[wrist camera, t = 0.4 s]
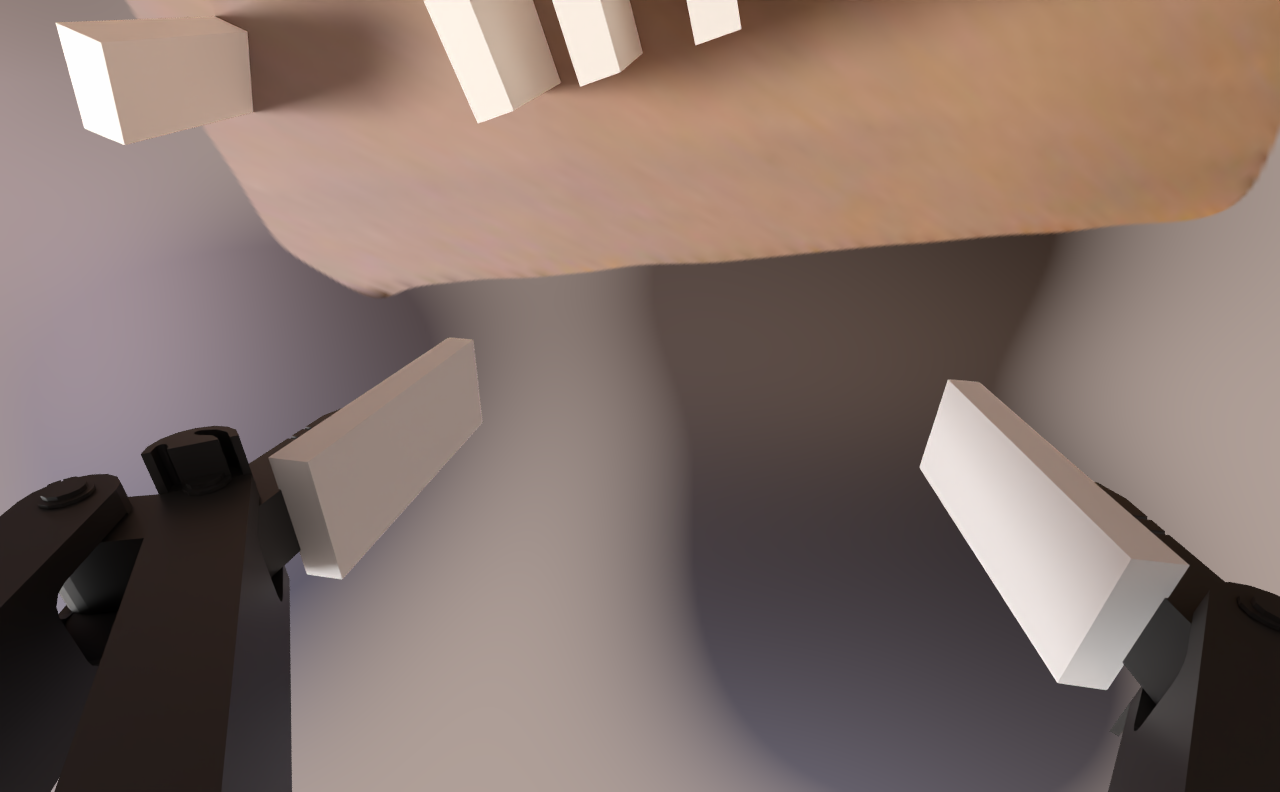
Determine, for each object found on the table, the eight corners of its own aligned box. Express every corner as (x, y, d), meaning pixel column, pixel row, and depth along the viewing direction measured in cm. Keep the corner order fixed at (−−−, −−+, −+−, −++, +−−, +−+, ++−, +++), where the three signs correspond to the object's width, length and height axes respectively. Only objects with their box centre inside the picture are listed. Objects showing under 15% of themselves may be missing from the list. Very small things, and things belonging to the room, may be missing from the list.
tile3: (612, 64, 31) (579, 86, 24) (583, -37, 29) (536, -50, 21) (643, 53, 31) (620, 72, 23) (616, -52, 28) (580, -70, 20)
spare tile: (223, 99, 35) (84, 128, 27) (214, 16, 32) (55, 22, 24) (253, 112, 35) (124, 145, 28) (247, 31, 32) (100, 42, 25)
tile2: (532, 93, 33) (477, 123, 25) (498, -1, 30) (423, 0, 22) (561, 82, 32) (513, 110, 25) (528, -14, 29) (462, -17, 22)
